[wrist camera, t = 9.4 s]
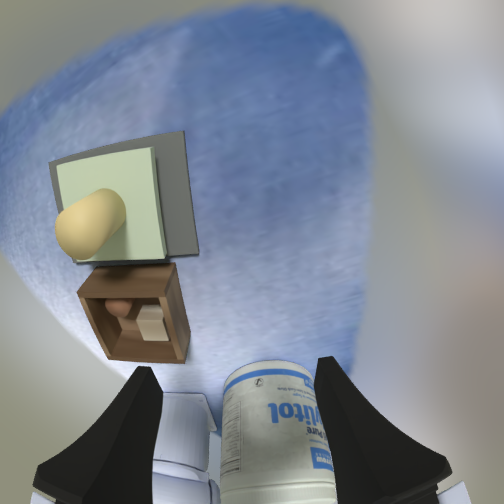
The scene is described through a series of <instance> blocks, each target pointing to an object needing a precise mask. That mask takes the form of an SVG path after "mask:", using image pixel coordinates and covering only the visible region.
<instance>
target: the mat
mask: <svg viewBox="0 0 504 504" xmlns="http://www.w3.org/2000/svg"><path fill="white" fill-rule="evenodd" d="M149 147H154V150H155V163H156V174H157V183H158V193H159V201H160V209H161V217H162V224H163V231H164V238H165V244H166V250H167V254H166V256H172V255H186V254H199V246H198V239H197V233H196V226H195V219H194V212H193V204H192V196H191V188H190V180H189V172H188V163H187V153H186V143H185V133H184V131H178V132H172V133H165V134H159V135H154V136H148V137H143V138H138V139H133V140H128V141H124V142H119V143H115V144H111V145H107V146H103V147H99V148H95V149H91V150H88V151H84V152H81V153H77V154H74V155H70V156H67V157H64V158H61V159H58V160H55V161H52V162H49V169H50V175H51V180H52V186H53V191H54V195H55V200H56V204H57V208H58V212H59V214H60V213H61V212H62V211H63V210H64V208H63V203H62V198H61V192H60V187H59V180H58V174H57V165H60V164H63V163H67V162H72V161H76V160H80V159H85V158H90V157H95V156H100V155H105V154H110V153H116V152H122V151H128V150H134V149H141V148H149ZM72 260H73V263H81V262H94V261H77V260H76V259H74V258H72Z"/></svg>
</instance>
